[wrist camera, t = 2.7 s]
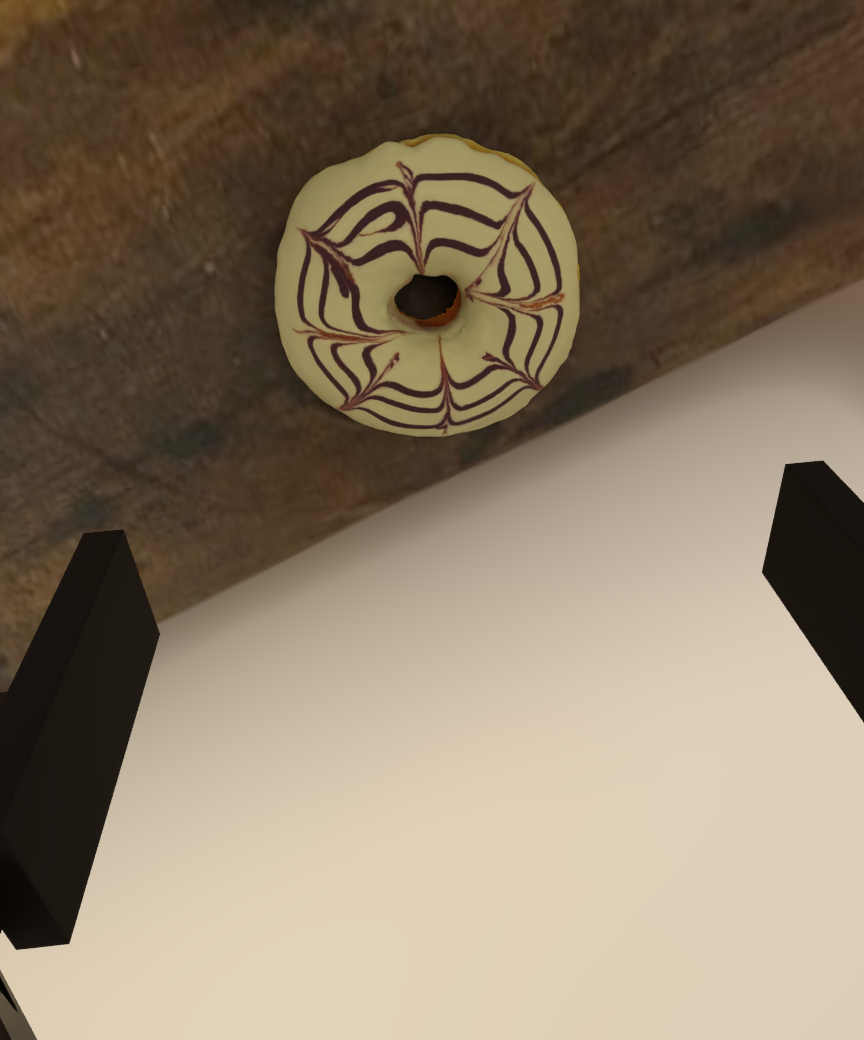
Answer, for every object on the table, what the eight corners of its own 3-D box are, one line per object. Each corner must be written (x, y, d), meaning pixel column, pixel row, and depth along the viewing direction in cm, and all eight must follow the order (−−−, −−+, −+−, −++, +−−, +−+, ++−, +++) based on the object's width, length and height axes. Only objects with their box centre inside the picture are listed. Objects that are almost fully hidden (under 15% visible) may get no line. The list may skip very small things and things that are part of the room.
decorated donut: (247, 151, 27) (233, 173, 24) (560, 103, 27) (587, 120, 24) (312, 422, 33) (307, 469, 30) (569, 384, 33) (591, 427, 30)
